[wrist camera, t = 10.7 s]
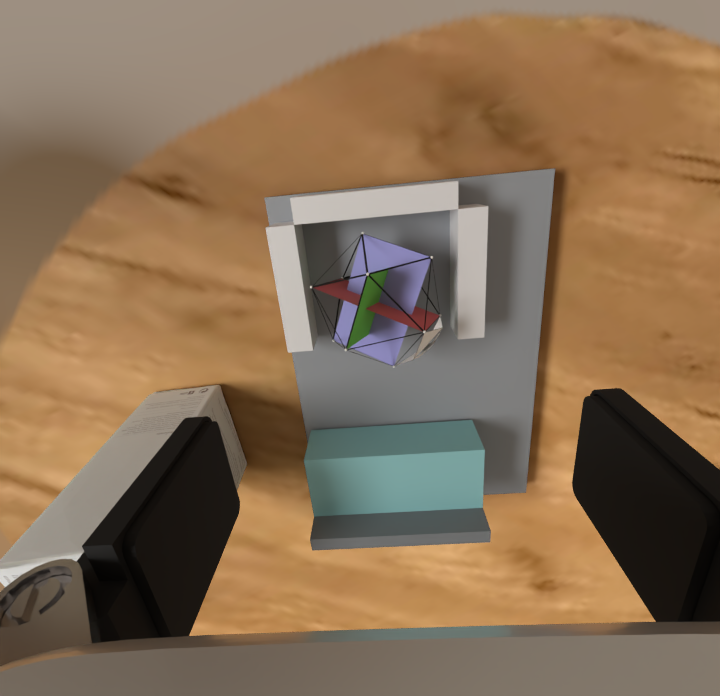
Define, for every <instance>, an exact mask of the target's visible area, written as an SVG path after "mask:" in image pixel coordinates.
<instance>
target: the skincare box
mask: <svg viewBox="0 0 720 696" xmlns="http://www.w3.org/2000/svg"><path fill="white" fill-rule="evenodd" d="M203 416H208V417H210V418H211V420H212V421H216V422H217V423H218V425H219V428H220V432H221V435H222V439H223V442H224V446H225V450H226V453H227V457H228V461H229V464H230V468H231V471H232V475H233V479H234V482H235V486H236V489H238V487H239V484H240V481H241V479H242V476H243V473H244V471H245V468H246V466H247V462H246V459H245V456H244V453H243V450H242V447H241V444H240V441H239V438H238V435H237V432H236V430H235V427H234V424H233V421H232V418H231V415H230V412H229V410H228V407H227V404H226V402H225V399H224V396H223V393H222V389H221V386H220V385H212V386H205V387H198V388H189V389H178V390H171V391H163V392H155V393H153V394H150V395H148V396H147V398H146V399H145V400H144V401H143V402H142V403H141V404H140V405H139V406H138V407H137V409H136V410H135V411H134V412H133V413H132V414H131V415H130V416H129V417H128V418H127V419H126V421H125V422H124V423H123V424H122V425H121V426H120V427H119V429H118V430H117V431H116V432H115V433H114V434H113V435H112V436H111V437H110V438H109V440H108V441H107V442H106V443H105V444H104V445H103V446H102V447H101V448H100V449H99V451H98V452H97V453H96V454H95V455H94V456H93V457H92V458H91V460H90V461H89V462H88V463H87V464H86V465H85V466H84V467H83V468H82V469H81V471H80V472H79V473H78V474H77V475H76V476H75V477H74V478H73V479H72V481H71V482H70V483H69V484H68V485H67V486H66V487H65V488H64V490H63V491H62V492H61V493H60V494H59V495H58V496H57V497H56V498H55V500H54V501H53V502H52V503H51V504H50V505H49V506H48V507H47V508H46V510H45V511H44V512H43V513H42V514H41V515H40V516H39V517H38V518H37V520H36V521H35V522H34V523H33V524H32V525H31V526H30V527H29V529H28V530H27V531H26V532H25V533H24V534H23V535H22V536H21V537H20V538H19V540H18V541H17V542H16V543H15V544H14V545H13V546H12V547H11V548H10V550H9V551H8V552H7V553H6V554H5V555H4V556H3V558H2V559H1V560H0V582H1V583H2V584H3V585H4V587H6V586H7V585H9V584H10V583H11V582H13V581H14V580H15V579H17V578H18V577H19V576H21V575H22V574H24V573H26V572H28V571H29V570H31V569H33V568H34V567H37V566H39V565H42V564H44V563H47V562H49V561H54V560H58V559H72V560H74V561H77V560H78V559H79V558H80V556H81V555H82V554H83V552H84V550H83V548H82V545H83V544H84V543H85V542H86V540H87V539H88V538H89V537H90V535H91V534H92V533H93V532H94V530H95V529H96V528H97V527H98V525H99V524H100V523H101V522H102V520H103V519H104V518H105V517H106V515H107V514H108V513H109V512H110V510H111V509H112V508H113V507H114V505H115V504H116V503H117V502H118V500H119V499H120V498H121V497H122V495H123V494H124V493H125V492H126V490H127V489H128V488H129V487H130V486H131V484H132V483H133V482H134V481H135V479H136V478H137V477H138V476H139V474H140V473H141V472H142V471H143V469H144V468H145V467H146V466H147V464H148V463H149V462H150V461H151V459H152V458H153V457H154V456H155V454H156V453H157V452H158V451H159V449H160V448H161V447H162V446H163V444H164V443H165V442H166V441H167V439H168V438H169V437H170V436H171V434H172V433H173V432H174V431H175V429H176V428H177V427H178V426H179V424H180V423H181V422H182V421H183V420H184V419H185V418H188V417H203Z"/></svg>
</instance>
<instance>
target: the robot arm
mask: <svg viewBox="0 0 720 696" xmlns="http://www.w3.org/2000/svg"><path fill="white" fill-rule="evenodd" d="M572 486H573V491H574V494H575V496H576V498H577V500H578V501H579V503H580V504H581V506H582V507H583V509H584V511H585V512H586V514H587V515H588V517H589V518H590V520H591V521H592V523H593V525H594V526H595V528H596V529H597V531H598V532H599V534H600V535H601V537H602V539H603V540H604V542H605V543H606V545H607V546H608V548H609V549H610V551H611V553H612V554H613V556H614V557H615V559H616V560H617V562H618V563H619V565H620V566H621V568H622V570H623V571H624V573H625V574H626V576H627V577H628V579H629V580H630V582H631V584H632V585H633V587H634V588H635V590H636V591H637V593H638V594H639V596H640V598H641V599H642V601H643V602H644V604H645V605H646V607H647V608H648V610H649V612H650V613H651V615H652V616H653V618H654V619H655V621H656V622H628V623H586V624H545V625H503V626H469V627H434V628H401V629H369V630H336V631H309V632H281V633H253V634H226V635H202V636H189V634H190V632H191V630H192V627H193V625H194V622H195V620H196V617H197V615H198V612H199V610H200V607H201V605H202V602H203V600H204V598H205V595H206V593H207V590H208V588H209V585H210V583H211V580H212V578H213V575H214V573H215V571H216V568H217V566H218V563H219V561H220V558H221V556H222V553H223V551H224V548H225V546H226V544H227V541H228V539H229V536H230V534H231V531H232V529H233V526H234V524H235V521H236V519H237V517H238V514H239V509H240V501H239V497H238V493H237V489H236V486H235V482H234V479H233V475H232V471H231V468H230V464H229V461H228V457H227V453H226V450H225V446H224V442H223V439H222V435H221V432H220V428H219V425H218V423H217V422H216V421H212V420H211V418H210V417H208V416H203V417H188V418H185V419H184V420H183V421H182V422H181V423H180V424H179V426H178V427H177V428H176V429H175V431H174V432H173V433H172V434H171V436H170V437H169V438H168V439H167V441H166V442H165V443H164V444H163V446H162V447H161V448H160V449H159V451H158V452H157V453H156V454H155V456H154V457H153V458H152V459H151V461H150V462H149V463H148V464H147V466H146V467H145V468H144V469H143V471H142V472H141V473H140V474H139V476H138V477H137V478H136V479H135V481H134V482H133V483H132V484H131V486H130V487H129V488H128V489H127V490H126V492H125V493H124V494H123V495H122V497H121V498H120V499H119V500H118V502H117V503H116V504H115V505H114V507H113V508H112V509H111V510H110V512H109V513H108V514H107V515H106V517H105V518H104V519H103V520H102V522H101V523H100V524H99V525H98V527H97V528H96V529H95V530H94V532H93V533H92V534H91V535H90V537H89V538H88V539H87V540H86V542H85V543H84V544H83V545H82V548H83V550H84V552H83V554H82V555H81V556H80V558H79V559H78V560H77V561H74V560H72V559H58V560H54V561H49V562H47V563H44V564H42V565H39V566H37V567H34V568H33V569H31V570H29V571H28V572H26V573H24V574H22V575H21V576H19V577H18V578H17V579H15V580H14V581H13V582H11V583H10V584H9V585H7V586H6V587H5V588H4V589H3V590H2V591H1V592H0V696H720V470H719V469H718V468H716V467H715V466H714V465H713V464H712V463H710V462H709V461H708V460H707V459H706V458H704V457H703V456H702V455H701V454H700V453H698V452H697V451H696V450H695V449H693V448H692V447H691V446H690V445H689V444H687V443H686V442H685V441H684V440H683V439H681V438H680V437H679V436H678V435H677V434H675V433H674V432H673V431H672V430H671V429H669V428H668V427H667V426H666V425H665V424H663V423H662V422H661V421H660V420H659V419H657V418H656V417H655V416H654V415H653V414H651V413H650V412H649V411H648V410H647V409H645V408H644V407H643V406H642V405H641V404H639V403H638V402H637V401H636V400H635V399H633V398H632V397H631V396H630V395H628V394H627V393H626V392H625V391H624V390H622V389H620V388H615V389H601V390H594V391H592V393H591V394H590V396H587V397H585V399H584V402H583V408H582V415H581V423H580V430H579V437H578V444H577V452H576V459H575V466H574V473H573V481H572Z"/></svg>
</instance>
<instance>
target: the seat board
mask: <svg viewBox="0 0 720 696" xmlns="http://www.w3.org/2000/svg"><path fill="white" fill-rule="evenodd" d="M554 175H555V169H542V170H532V171H522V172H512V173H503V174H493V175H483V176H473V177H463V178H453V179H443V180H433V181H423V182H413V183H403V184H394V185H384V186H374V187H364V188H354V189H344V190H334V191H324V192H314V193H304V194H294V195H285V196H275V197H266V198H265V203H266V208H267V214H268V220H269V226H268V227H266V233H267V238H268V244H269V249H270V255H271V261H272V266H273V272H274V277H275V283H276V288H277V294H278V299H279V305H280V311H281V316H282V322H283V327H284V333H285V338H286V344H287V349H288V352H292V356H293V362H294V368H295V373H296V379H297V385H298V390H299V396H300V402H301V408H302V413H303V419H304V425H305V430H306V436H307V442H308V441H309V437H310V433H311V430H322V429H338V428H353V427H369V426H384V425H400V424H415V423H431V422H446V421H462V420H472V421H473V423H474V425H475V428H476V430H477V433H478V435H479V437H480V440H481V442H482V444H483V447H484V449H485V458H484V486H483V495H489V494H507V493H526V486H527V475H528V464H529V453H530V442H531V431H532V419H533V408H534V397H535V386H536V375H537V364H538V353H539V342H540V331H541V319H542V308H543V297H544V286H545V275H546V264H547V253H548V242H549V230H550V219H551V208H552V197H553V186H554ZM362 232H364V234H366V235H369V236H372V237H375V238H378V239H381V240H384V241H387V242H390V243H392V244H395V245H398V246H401V247H404V248H407V249H410V250H413V251H416V252H419V253H422V254H425V255H427V256H430V257H431V256H433V259H432V262H433V265H432V262H431V261H430V262H431V272H430V264H429V267H428V270H427V272H426V275H425V278H424V281H423V284H422V288H423V289H424V291H425V292H426V294H427V293H428V282H429V272H430V283H429V293H428V297H429V298H430V300H431V302H432V303H433V305H434V306H435V308H436V309H437V311H438V312H439V310H440V313H439V314H441V315H442V316H441V320H442V325H443V328H442V329H441V330H440V331H441V332H440V331H439V332H438V333H437V335H436V336H435V337H434V338H433V339H432V340H431V341H430V342H429V343H428V344H430V343H432V342H433V341H434V340H435V339H436V337H437V336H438V337H437V339H436V340H435V343H434V344H433V345H432V346H431V347H429V348H428V349H429V350H428V349H427V350H428V351H427V350H426V351H427V352H426V351H425V352H426V353H425V352H424V353H423V354H422V356H420V357H418V356H419V355H420V354H421V353H422V351H423V350H422V351H421V352H420V353H419V354H418V355H417V357H418V358H416V359H414V360H412V361H409V362H406V363H403V364H400V365H397V364H399V363H400V362H402V361H404V360H405V359H407V358H408V357H410V356H411V355H413V354H415V353H416V352H417V350H418V347H419V345H420V342H421V340H422V337H423V335H424V334H423V333H421V332H422V331H420V330H417V329H415V328H412V327H410V326H408V327H407V330H406V333H405V336H407V335H412V334H416V333H421V334H417V335H412V336H408V337H404V339H403V342H402V345H401V348H400V351H399V353H398V356H397V359H396V362H395V364H396V363H397V362H398V361H399V360H400V361H399V362H398V363H397V364H396V365H397V366H396V365H395V368H393V366H391V365H388V364H387V363H386V364H385V363H384V362H383V363H382V361H380V360H377V359H375V358H373V357H370V356H368V355H366V354H363V353H361V352H359V351H356V350H354V349H351V350H348V351H345V350H344V349H345V348H346V346H345V345H344V346H345V348H344V346H343V345H342V344H340V343H338V342H333V341H332V340H333V339H332V337H333V335H334V328H335V322H336V315H337V308H338V301H339V298H337V297H334V296H332V295H329V294H327V293H324V292H322V291H319V290H317V289H314V288H313V290H314V292H315V294H316V295H314V293H313V291H312V289H311V288H310V286H313V285H314V284H315V285H314V286H316V285H319V284H323V283H326V282H330V281H333V280H337V279H340V278H341V277H343V275H344V273H345V270H346V268H347V266H348V263H349V261H350V259H351V257H352V254H353V252H354V250H355V247H356V245H357V243H358V241H359V238H360V237H359V236H361V233H362ZM358 237H359V238H358ZM357 238H358V239H357ZM356 239H357V240H356ZM355 240H356V241H355ZM354 241H355V242H354ZM353 242H354V243H353ZM352 243H353V244H352ZM359 243H360V242H359ZM351 244H352V245H351ZM350 245H351V246H350ZM349 246H350V247H349ZM358 246H359V244H358ZM358 246H357V249H356V251H355V253H354V255H353V258H352V260H351V262H350V264H349V267H348V269H347V271H346V274H345V276H344V277H347V276H351V272H352V269H353V265H354V261H355V258H356V254H357V250H358ZM344 252H345V253H344ZM343 253H344V254H343ZM342 254H343V255H342ZM341 255H342V256H341ZM340 256H341V257H340ZM339 257H340V258H339ZM338 258H339V259H338ZM337 259H338V260H337ZM336 260H337V261H336ZM335 261H336V262H335ZM334 262H335V263H334ZM329 268H330V269H329ZM328 269H329V270H328ZM433 269H434V272H433ZM327 270H328V271H327ZM326 271H327V272H326ZM325 272H326V273H325ZM324 273H325V274H324ZM323 274H324V275H323ZM322 275H323V276H322ZM434 275H435V279H434ZM321 276H322V277H321ZM320 277H321V278H320ZM319 278H320V279H319ZM349 278H350V277H349ZM349 280H350V279H349ZM349 280H348V281H349ZM435 282H436V285H435ZM422 288H421V290H420V293H419V296H418V298H417V301H416V304H415V306H416V307H419V308H421V309H424V310H426V303H427V296H426V294H425V293H424V291H423V290H422ZM436 289H437V292H436ZM315 296H317V297H318V299H319V301H320V303H321V304H320V303H319V301H318V299H317V300H316V298H317V297H316V298H315ZM437 296H438V299H437ZM430 300H429V299H428V303H427V311H429V312H432V313H435V314H437V315H439V314H438V313H437V311H436V310H435V308H434V307H433V305H432V304H431V302H430ZM317 301H318V303H319V305H318V303H317ZM343 302H344V300H342V299H340V304H339V310H338V317H337V324H336V328H337V325H338V321H339V317H340V313H341V310H342V306H343ZM438 303H439V306H438ZM321 305H322V306H323V308H324V310H325V312H326V314H327V315H326V314H325V312H324V310H323V308H322V306H321ZM319 306H320V307H319ZM320 308H321V310H320ZM321 311H322V312H321ZM322 313H323V315H324V317H323V315H322ZM327 316H328V317H329V319H330V321H331V323H332V324H331V323H330V321H329V319H328V317H327ZM324 318H325V319H324ZM438 319H439V318H438ZM438 319H437V320H436V321H435V322H434V323H433V324H432V325H431V327H430V328H429V329H428V330H427V331H426V332H428V331H431V330H433V329H434V327H435V325H436V323H437V321H438ZM325 320H326V322H325ZM326 323H327V324H326ZM327 325H328V327H327ZM332 325H333V326H334V328H333V326H332ZM328 328H329V329H328ZM329 330H330V332H331V334H330V332H329ZM422 334H423V335H422ZM438 334H439V335H438ZM331 335H332V336H331ZM421 335H422V336H421ZM420 336H421V337H420ZM419 337H420V339H419V340H418V341H417V339H418V338H419ZM416 341H417V342H416ZM415 342H416V343H415ZM337 343H338V344H339V345H338V344H337ZM414 343H415V344H414ZM413 344H414V345H413ZM428 344H427V345H428ZM412 345H413V346H412ZM341 346H342V347H343V348H342V347H341ZM411 346H412V347H411ZM410 347H411V348H410ZM409 348H410V350H409ZM348 349H350V348H348ZM408 350H409V351H408ZM350 351H351V352H350ZM407 351H408V352H407ZM352 352H354V353H352ZM406 352H407V353H406ZM355 353H357V354H355ZM405 353H406V354H405ZM358 354H360V355H358ZM404 354H405V355H404ZM361 355H363V356H361ZM403 355H404V356H403ZM364 356H366V357H364ZM402 356H403V357H402ZM367 357H369V358H367ZM401 357H402V358H401ZM370 358H371V359H370ZM373 359H374V360H373ZM376 360H377V361H376ZM379 361H380V362H379Z"/></svg>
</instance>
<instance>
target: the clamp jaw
mask: <svg viewBox="0 0 720 696" xmlns="http://www.w3.org/2000/svg"><path fill="white" fill-rule="evenodd" d="M484 458H485V449H484V447H483V444H482V442H481V440H480V437H479V435H478V433H477V430H476V428H475V425H474V423H473V421H472V420H462V421H446V422H431V423H415V424H400V425H384V426H369V427H353V428H338V429H322V430H311V433H310V437H309V441H308V445H307V449H306V454H305V458H304V464H305V470H306V475H307V480H308V486H309V491H310V497H311V502H312V508H313V513H314V520H313V526H312V532H311V538H310V541H311V546H312V550H330V549H352V548H374V547H395V546H417V545H439V544H460V543H482V542H490V534H491V531H490V528H489V525H488V522H487V519H486V516H485V513H484V510H483V486H484Z"/></svg>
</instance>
